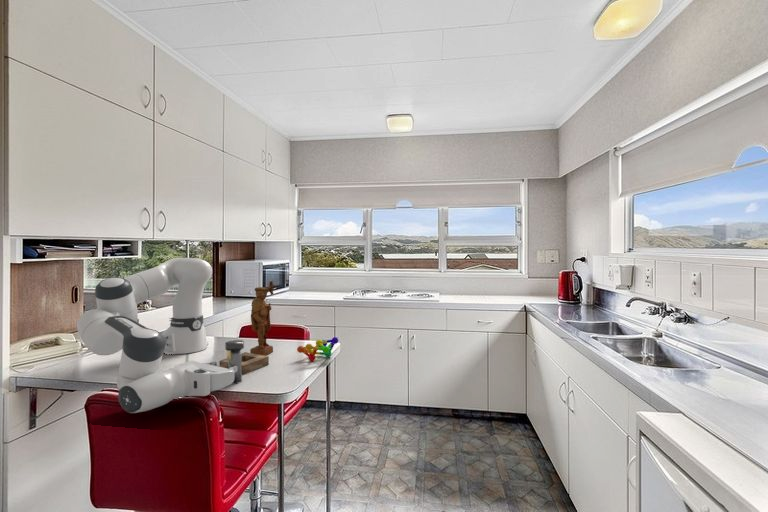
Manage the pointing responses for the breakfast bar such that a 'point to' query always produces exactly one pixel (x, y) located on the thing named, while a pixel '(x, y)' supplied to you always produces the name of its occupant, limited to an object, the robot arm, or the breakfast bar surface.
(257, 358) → the wooden stand
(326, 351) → the decorative model
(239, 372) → the knob stem
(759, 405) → the breakfast bar surface
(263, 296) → the sculpture
